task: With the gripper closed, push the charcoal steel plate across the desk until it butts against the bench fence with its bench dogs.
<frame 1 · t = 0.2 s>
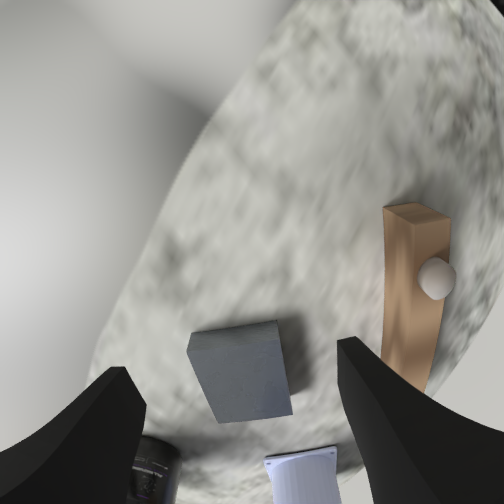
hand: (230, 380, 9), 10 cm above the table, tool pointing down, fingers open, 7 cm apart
supplement bottle: (153, 448, 26), on the table
steel plate: (244, 365, 22), on the table
bench fence: (397, 322, 20), on the table
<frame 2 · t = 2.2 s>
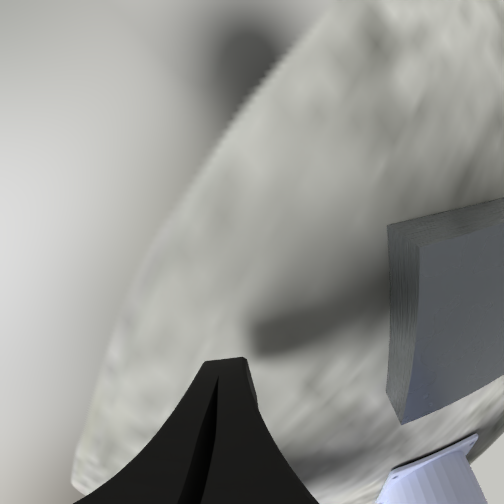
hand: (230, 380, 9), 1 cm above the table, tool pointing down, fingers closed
steel plate: (446, 299, 10), on the table
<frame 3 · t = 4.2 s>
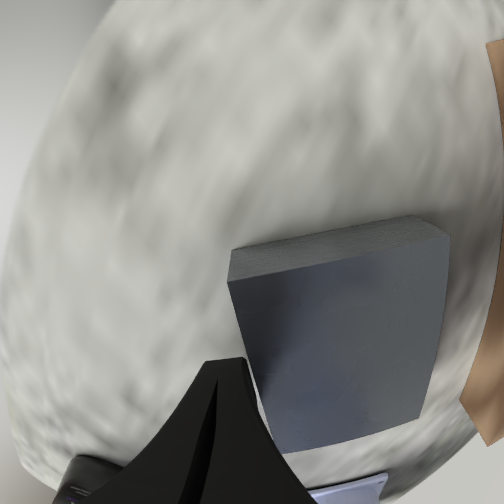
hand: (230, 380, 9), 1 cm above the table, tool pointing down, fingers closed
supplement bottle: (112, 474, 15), on the table
steel plate: (336, 330, 10), on the table
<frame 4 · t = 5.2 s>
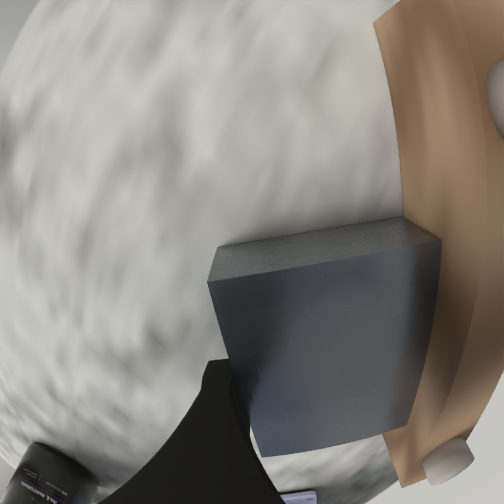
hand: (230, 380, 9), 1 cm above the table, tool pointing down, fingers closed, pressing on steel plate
supplement bottle: (63, 463, 16), on the table
steel plate: (323, 334, 10), on the table, touching bench fence, gripper
bench fence: (430, 280, 9), on the table
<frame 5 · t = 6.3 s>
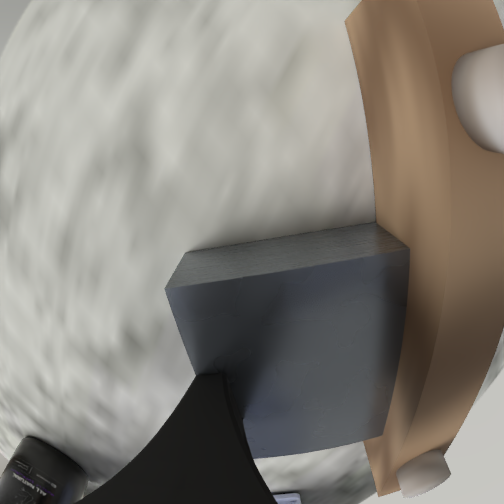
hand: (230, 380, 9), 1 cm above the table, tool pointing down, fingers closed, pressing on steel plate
supplement bottle: (55, 457, 16), on the table
steel plate: (295, 340, 10), on the table, touching bench fence, gripper
bench fence: (407, 288, 9), on the table
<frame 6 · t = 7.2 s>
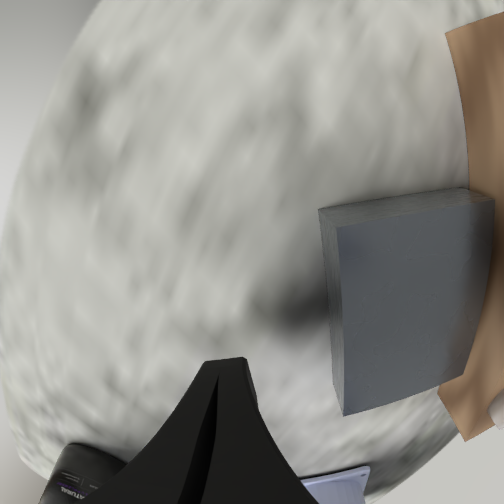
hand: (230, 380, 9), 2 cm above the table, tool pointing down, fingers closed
supplement bottle: (102, 463, 16), on the table
steel plate: (395, 290, 11), on the table
bench fence: (485, 245, 10), on the table
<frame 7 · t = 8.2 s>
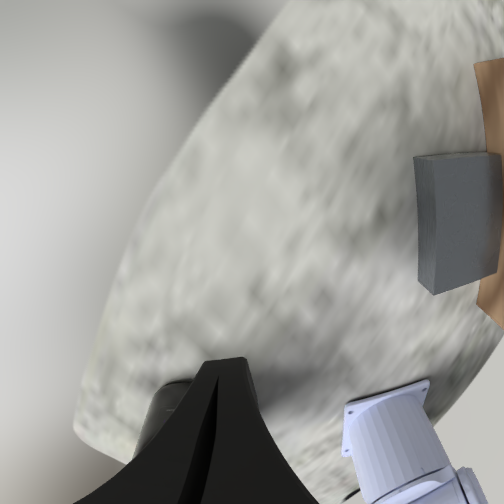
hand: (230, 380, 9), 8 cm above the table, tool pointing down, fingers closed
supplement bottle: (193, 405, 21), on the table
steel plate: (450, 213, 16), on the table
bench fence: (498, 190, 15), on the table
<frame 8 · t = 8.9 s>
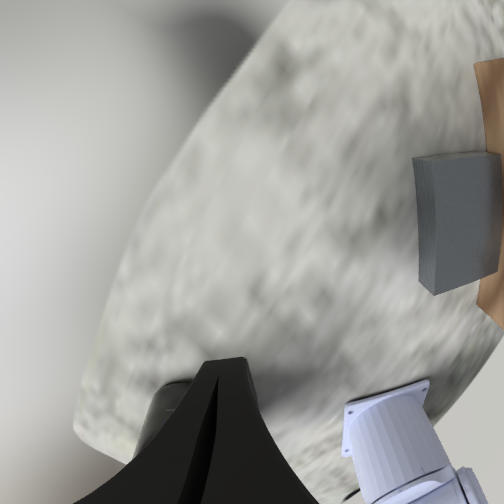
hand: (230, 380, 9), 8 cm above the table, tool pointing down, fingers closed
supplement bottle: (193, 405, 21), on the table
steel plate: (450, 213, 16), on the table
bench fence: (498, 190, 15), on the table
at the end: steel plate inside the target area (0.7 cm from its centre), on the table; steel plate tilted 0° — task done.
